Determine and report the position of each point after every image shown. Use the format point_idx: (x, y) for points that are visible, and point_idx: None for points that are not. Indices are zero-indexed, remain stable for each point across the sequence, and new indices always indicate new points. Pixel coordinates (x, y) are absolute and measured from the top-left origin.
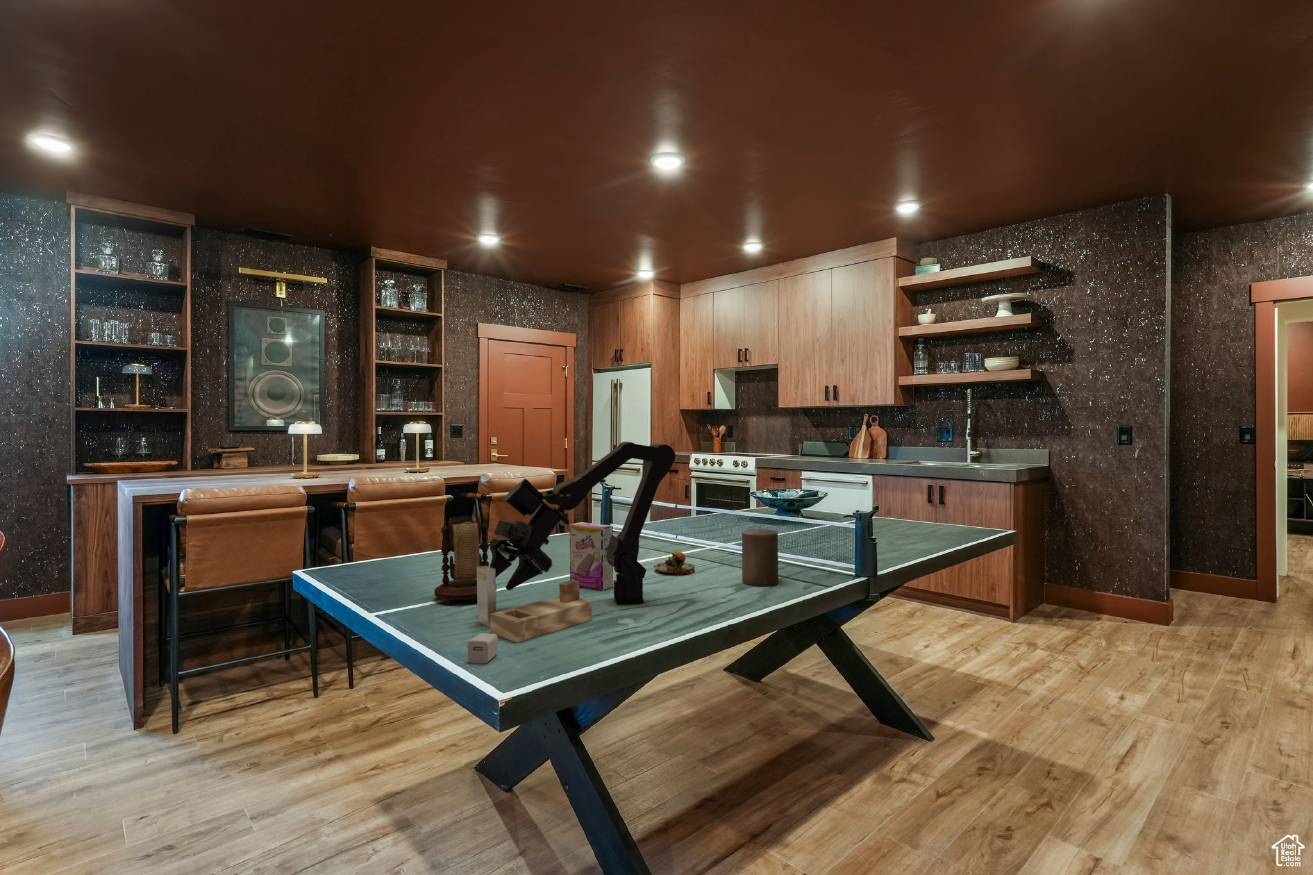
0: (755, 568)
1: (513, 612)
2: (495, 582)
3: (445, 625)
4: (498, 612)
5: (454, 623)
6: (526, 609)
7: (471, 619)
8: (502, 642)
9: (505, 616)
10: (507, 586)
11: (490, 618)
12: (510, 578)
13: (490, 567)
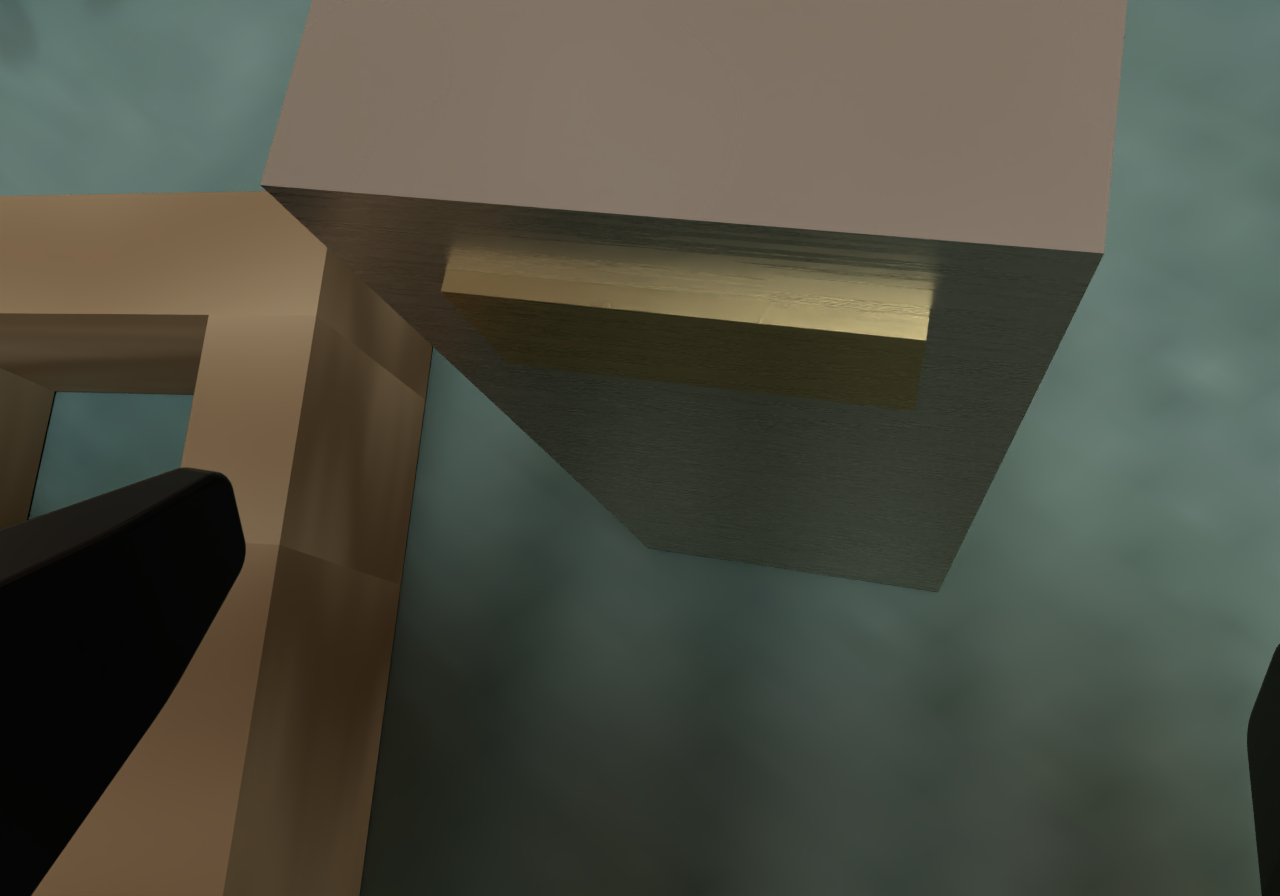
0: None
1: None
2: (447, 356)
3: (1155, 112)
4: (294, 304)
5: (1145, 228)
6: None
7: (1134, 477)
8: None
9: (85, 254)
10: (159, 483)
11: None
12: (37, 563)
13: (609, 208)
